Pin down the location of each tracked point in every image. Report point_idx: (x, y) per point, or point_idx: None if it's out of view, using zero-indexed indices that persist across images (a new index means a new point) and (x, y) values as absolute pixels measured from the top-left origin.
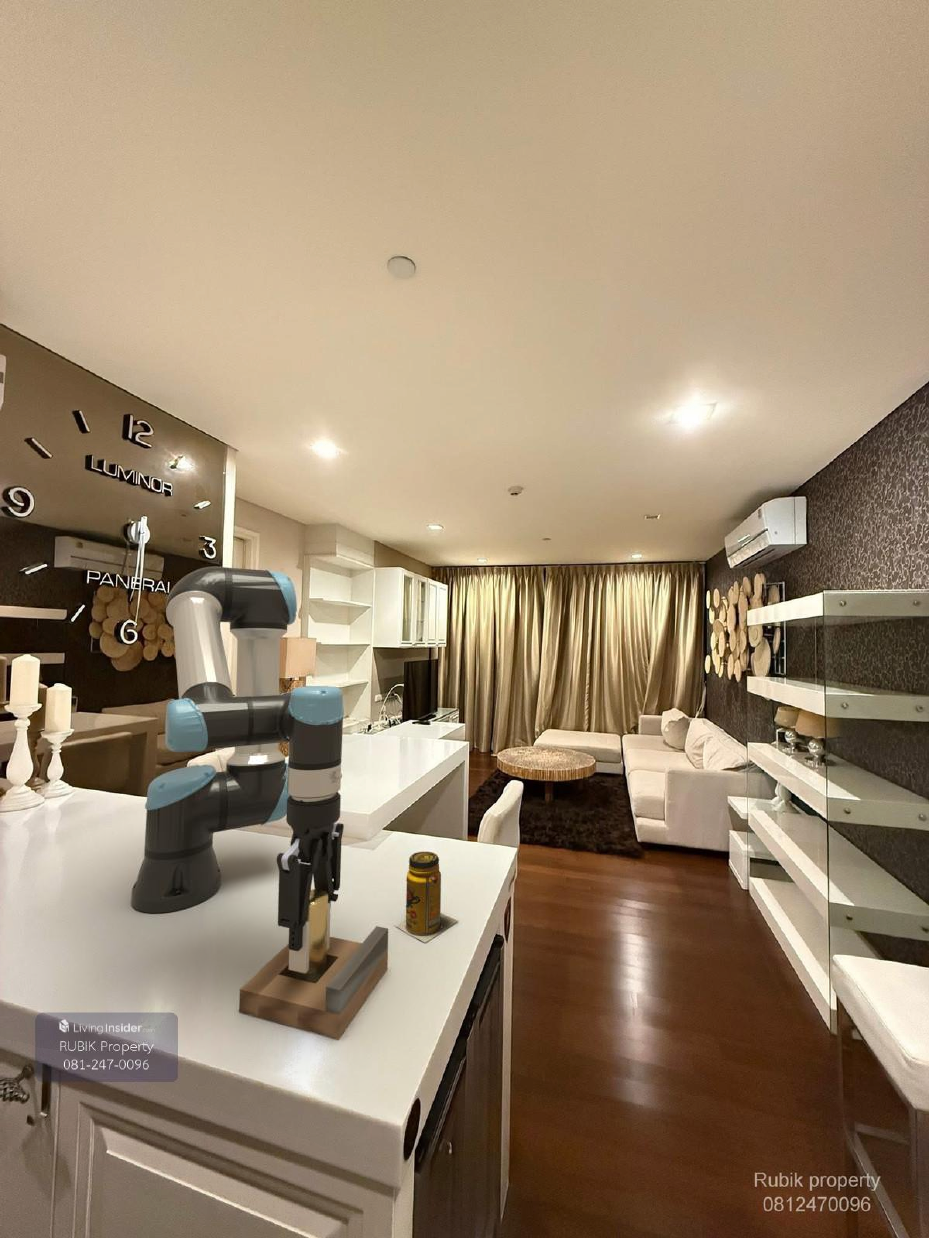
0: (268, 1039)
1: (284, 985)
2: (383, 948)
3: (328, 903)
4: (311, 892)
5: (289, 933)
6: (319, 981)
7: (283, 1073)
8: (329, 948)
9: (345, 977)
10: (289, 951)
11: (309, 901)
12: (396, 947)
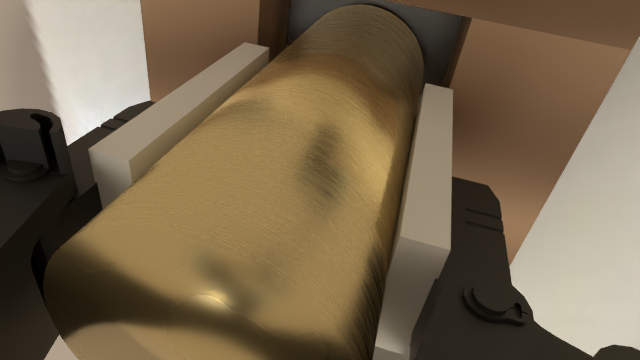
0: (134, 29)
1: (210, 39)
2: None
3: (398, 342)
4: (287, 352)
5: (76, 145)
6: None
7: (80, 114)
8: (477, 144)
9: None
10: (203, 72)
11: (132, 350)
12: (596, 301)
